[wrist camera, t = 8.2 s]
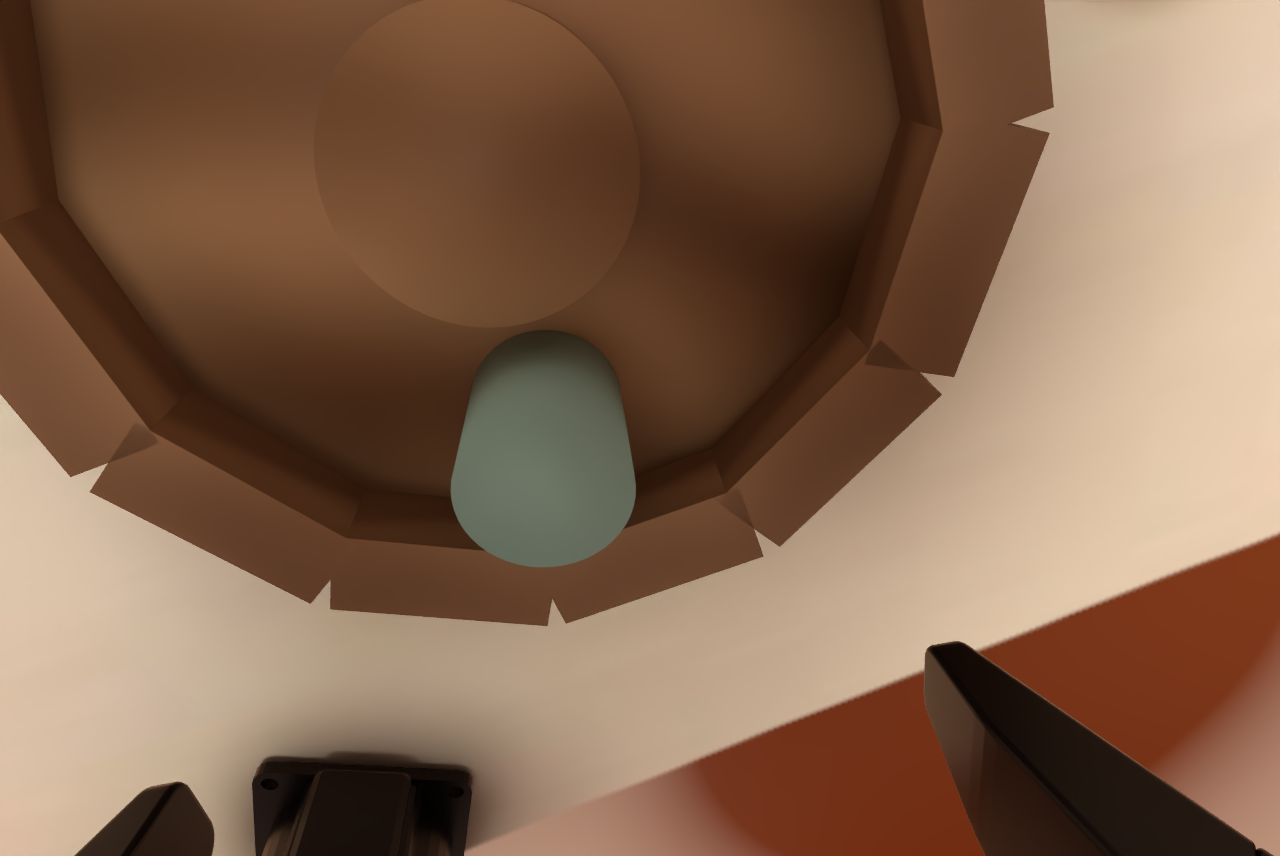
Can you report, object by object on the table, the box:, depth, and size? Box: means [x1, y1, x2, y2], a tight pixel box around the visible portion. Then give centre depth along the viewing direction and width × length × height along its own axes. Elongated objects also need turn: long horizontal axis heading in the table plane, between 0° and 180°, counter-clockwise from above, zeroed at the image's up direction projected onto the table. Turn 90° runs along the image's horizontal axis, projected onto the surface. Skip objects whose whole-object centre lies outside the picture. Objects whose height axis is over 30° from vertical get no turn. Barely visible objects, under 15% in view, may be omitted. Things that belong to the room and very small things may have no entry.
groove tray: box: [0, 0, 1054, 626], centre depth 15 cm, size 20×20×3 cm
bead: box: [451, 330, 636, 567], centre depth 17 cm, size 3×3×4 cm
